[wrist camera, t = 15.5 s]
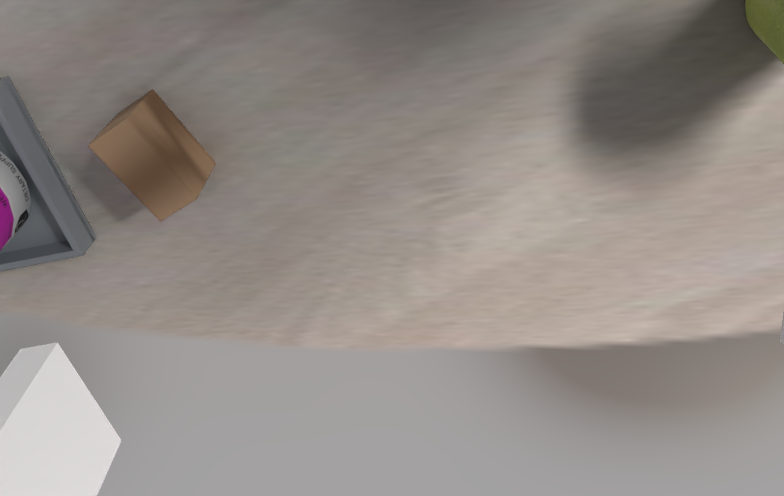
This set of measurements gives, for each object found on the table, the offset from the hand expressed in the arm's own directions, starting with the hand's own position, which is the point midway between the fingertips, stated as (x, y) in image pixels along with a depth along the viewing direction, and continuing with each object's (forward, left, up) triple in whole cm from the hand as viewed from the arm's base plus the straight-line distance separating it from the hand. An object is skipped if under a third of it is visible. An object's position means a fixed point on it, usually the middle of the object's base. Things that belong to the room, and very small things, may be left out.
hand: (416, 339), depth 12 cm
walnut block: (+6, -17, -31) cm, 36 cm away
